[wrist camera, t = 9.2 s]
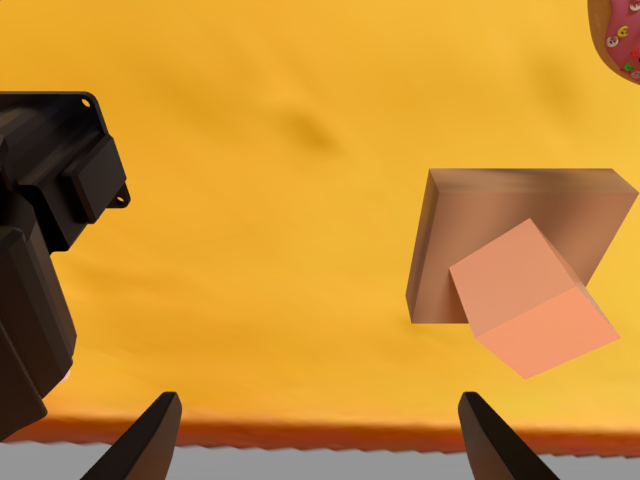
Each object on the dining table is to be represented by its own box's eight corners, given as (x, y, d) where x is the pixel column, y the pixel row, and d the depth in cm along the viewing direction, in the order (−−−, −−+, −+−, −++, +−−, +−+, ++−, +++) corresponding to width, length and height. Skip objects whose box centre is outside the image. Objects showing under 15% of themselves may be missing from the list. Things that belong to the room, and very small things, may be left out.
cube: (494, 309, 26) (525, 379, 22) (448, 267, 24) (474, 338, 20) (571, 267, 24) (621, 338, 20) (529, 218, 22) (576, 286, 18)
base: (405, 295, 29) (411, 323, 27) (429, 168, 22) (439, 192, 21) (548, 295, 29) (564, 323, 27) (611, 168, 22) (639, 192, 21)
